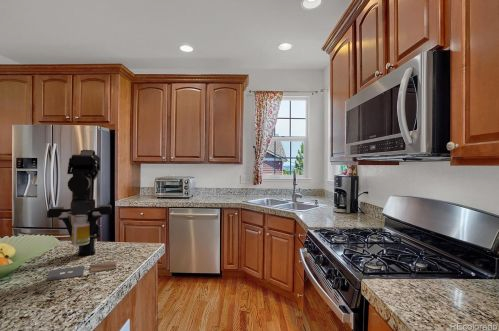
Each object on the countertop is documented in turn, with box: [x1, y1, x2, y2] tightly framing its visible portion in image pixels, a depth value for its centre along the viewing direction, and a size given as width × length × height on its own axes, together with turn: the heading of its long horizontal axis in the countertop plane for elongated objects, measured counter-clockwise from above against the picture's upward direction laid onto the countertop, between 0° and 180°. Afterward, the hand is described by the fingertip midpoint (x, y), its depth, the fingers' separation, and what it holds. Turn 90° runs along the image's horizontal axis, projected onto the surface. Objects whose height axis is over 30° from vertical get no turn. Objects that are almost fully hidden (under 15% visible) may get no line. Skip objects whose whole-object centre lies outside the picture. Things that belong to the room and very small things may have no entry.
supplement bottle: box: [71, 215, 90, 247], centre depth 94 cm, size 5×5×10 cm
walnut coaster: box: [89, 261, 117, 273], centre depth 98 cm, size 8×8×1 cm
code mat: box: [45, 265, 85, 282], centre depth 91 cm, size 10×10×1 cm
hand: (80, 235), depth 94 cm, fingers closed on supplement bottle, 5 cm apart
